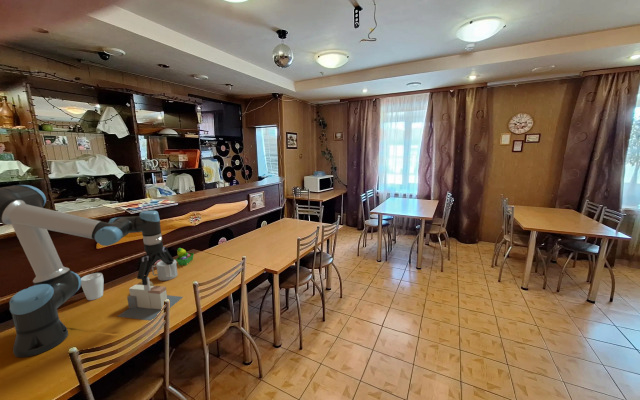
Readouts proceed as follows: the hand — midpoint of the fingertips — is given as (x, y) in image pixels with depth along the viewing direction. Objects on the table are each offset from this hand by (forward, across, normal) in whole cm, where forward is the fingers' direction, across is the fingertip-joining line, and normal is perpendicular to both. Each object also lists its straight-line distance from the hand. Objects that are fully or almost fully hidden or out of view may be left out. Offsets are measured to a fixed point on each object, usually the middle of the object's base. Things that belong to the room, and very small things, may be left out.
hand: (158, 282), depth 124 cm
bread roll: (+14, +12, +22) cm, 28 cm away
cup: (+14, +3, +43) cm, 46 cm away
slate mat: (+14, 0, +5) cm, 15 cm away
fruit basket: (+14, +50, +24) cm, 57 cm away
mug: (+14, +29, +22) cm, 39 cm away
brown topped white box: (+13, 0, +1) cm, 13 cm away
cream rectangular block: (+13, 0, +10) cm, 16 cm away
